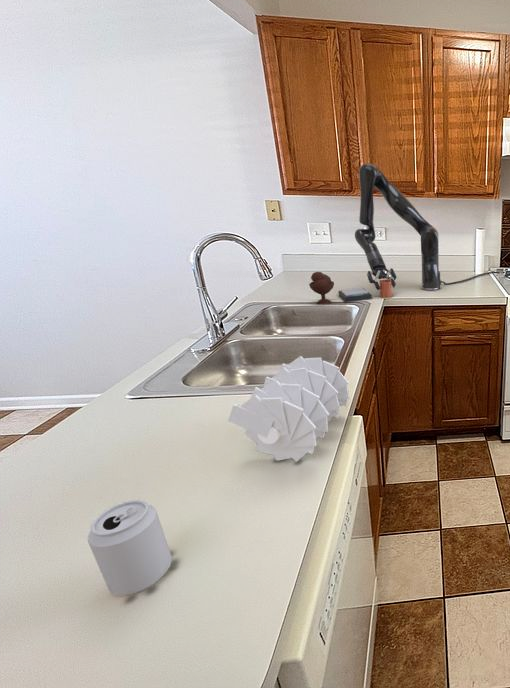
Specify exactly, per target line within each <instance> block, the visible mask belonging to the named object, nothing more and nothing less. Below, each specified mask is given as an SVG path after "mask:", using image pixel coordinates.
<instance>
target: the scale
mask: <svg viewBox="0 0 510 688" xmlns="http://www.w3.org/2000/svg"><path fill="white" fill-rule="evenodd" d="M337 292H338V293H337V294H338V296H339V298H341V300H342V301H344V303H350V302H357V301H365V300H371V299H372V298H373V297H372V293H371V292H369V291H368V290H367V289H366V288H364V287H355V288H346V289H340V290H338V291H337Z"/></svg>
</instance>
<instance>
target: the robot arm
mask: <svg viewBox="0 0 510 688" xmlns="http://www.w3.org/2000/svg"><path fill="white" fill-rule="evenodd" d="M358 177H359V188H360V201H359V202H360V203H359V215H358V217H359V218H358V222H359V224H360V225H363V226H366V228H359V229H358V228H357V229H355V231H354V239H355V240H356V243H357V244H358V245H359V246H360V248H361V249H362V250H363V252H364V254H365V257H366V261H367V263H368V265H369V268H370V270H368V271H367V273H366V276H367V280H368V282H369V284H373V285H374V287H375V289H376V290H377V291H380V286H379V281H378V280H391V282H392V289H393V288H395V287H396V285H397V283H396V280H397V278H398V277H397V274H396V273H395V270H394V268H392V267H391V268H390V269H388V268H387V266H386V264H385V263H386V262H385V260H384V259H383V257H382V254H381V253H380V251H379V248H378V246H377V244H376V243H374V242H375V241H376V238H377V237H376V236H377V235H376V230H375V225H374V217H375V216H374V215H375V205H374V189H376V190H377V192H379V193H380V194H381V195H382V197H383V199H384V200H385V202H386V204H387V205H388V206H389V207H390V209H391V210H392V211H393V212H394V213H395V214H396V215H397V216H398V217H399V218H400V219H401V220H403V221H404V222H406V223H407V224H408V225H410V227H412V228H413V229H414V230H415V231H416V232H417V233H418V235H419V236H420V255H421V256H420V257H421V289H422V290H425V291H436V290H440V289H441V285H442V284H443V285H445V286H449V285H450V286H451V285H455V284H459V283H463V282H467V281H469V280H473V279H475V278H478V277H481V276H486V275H491V274H494V273H495V272H494V271H495V270H492V271H488V272H484V273H480V274H477V275H474V276H471V277H469V278H466V279H461V280H458V281H453V282H445V281H444V280H442V279H441V271H440V263H439V262H440V261H439V260H440V259H439V258H440V256H439V255H440V254H439V253H440V252H439V231H438V230H437V228H435V227H434V226H433V225H432V224H430V223H429V222H428V221H427V220H426V219H425V218H424V217H423V216H422V215H421V213H420V212H419V211H418V210H417V209H416V207H415V206H414V205H413V204H412V202H410V200H408V198H407V197H405V195H404V194H403V193H402V192H401V191H400V190H398V188H397V187H396V186H394V185H393V184H392V182H390V180H388V179H387V177H386V176H385V175H384V173H383V171H382V170H381V169H380V168H379V167H378V165H376V164H374V163H371V162H368V163H364V164H362V165H361V166H360V167H359V170H358ZM496 273H497V274H500V271H498V272H496ZM373 277H374V278H373Z"/></svg>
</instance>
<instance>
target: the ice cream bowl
mask: <svg viewBox="0 0 510 688" xmlns="http://www.w3.org/2000/svg"><path fill="white" fill-rule="evenodd" d="M310 279H311V282H309V283H308V285H309V288H310V290H312V291H313V292H314V293H316V294H318V295H320V297H321V299H319V300H318V301H317V304H319V305H327V304H329V303H331V300H329V299H328V298H326V294H329V293H330V292H331V291H332V290H333V288H334V286H335V282H334V281H332V279H331V277H330V276H329V275H328V274H325V273H323V272H322V271H315V272H313V273H312V274H311V276H310Z"/></svg>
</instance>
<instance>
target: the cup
mask: <svg viewBox="0 0 510 688" xmlns="http://www.w3.org/2000/svg"><path fill="white" fill-rule="evenodd" d="M378 284H379V286H380V289H379V297H380V298H383V299H388V298H392V297H393V287H392V282H391V280H387V279H379V281H378Z"/></svg>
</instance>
